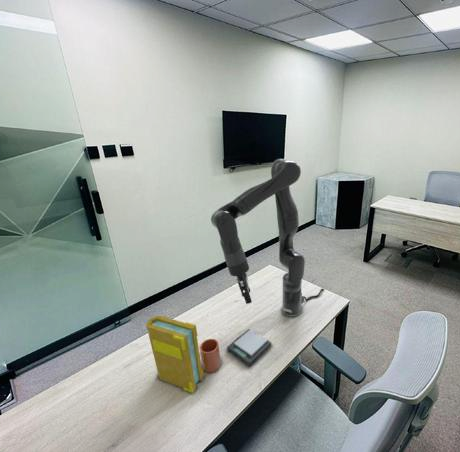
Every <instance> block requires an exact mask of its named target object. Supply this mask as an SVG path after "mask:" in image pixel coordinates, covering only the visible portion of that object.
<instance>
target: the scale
mask: <svg viewBox="0 0 460 452" xmlns="http://www.w3.org/2000/svg"><path fill="white" fill-rule="evenodd" d="M271 347H272V342H271V341H270V340H268V338H266V337H264V336H263V335H261V334H260V333H258V332H256V331H255V330H253V329H251V328H248V329H247V330H246V331H245V332H243V333H242V334H241V335H239V336H238V337H237V338H236V339H235V340H234V341H232V342H231V343H230V344H229V345H228V346H227V347H226V348H227V351H228V353H231V354H232V355H233V356H235V357H236V358H237V359H238V360H240V361H241V362H243V363H244V364H245V365H247V367H252V365H254V364H255V363H256V362H257V361H258V359H259V358H261V356H263V355H264V354H265V353H266V352H267V351H268V350H269V349H270V348H271Z"/></svg>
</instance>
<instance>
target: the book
mask: <svg viewBox="0 0 460 452" xmlns="http://www.w3.org/2000/svg"><path fill="white" fill-rule="evenodd" d="M145 326H146V330H147V334H148V338H149V342H150V346H151V347H150V348H151V350H152V355H153V358H154V362H155V366H156V370H157V375H158V378H159V380H161V381H163V382H166V383H169V384H171V385H174V386H177V387H180V388H182V390H183V391H186V392H189V393H191V394H193V393H194V392H195V390H196V389H197V386H196V385H197V383H198V382H202V381H203V379H204V378H205V375H204V369H203V366H202V359H201V353H200V347H199V342H198V337H199V336H198V329H197V324H195V323H191V322H188V321H186V322H184V321H180V320H177V319H173V318H170V317H166V316H164V315H163V316H162V315H154V316H152V317H150V318H149V319H148V320H147V321H146V323H145Z"/></svg>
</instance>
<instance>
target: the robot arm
mask: <svg viewBox="0 0 460 452" xmlns="http://www.w3.org/2000/svg"><path fill="white" fill-rule="evenodd" d="M301 173H302V170H301V166H300V165H299V163H298V162H295V161H293V160H289V159H285V158H277V159H275V160H274V162H273V163H272V165H271V168H270V176H271V178H269V179H267V180H266V181H264V182H261V183H259V184H257V185H254V186H252V187H249V188H248V189H247V190H245V191H243V192H242V193H241V194H239V195H238V196H237V197H235V198H234V199H233V200H231V201H230V202H228V203H226V204H225V205H223V206H221V207H219V208H218V209H217V210H215V211H214V212H213V213H212V215H211V218H210V222H211V224H212V226H213V227H214V228H216V229H217V231H218V234H219V238H220V240H219V243H220V247H221V249H222V252H223V256H224V260H225V263H226V266H227V269H228V272H229V275H230V276H232V277H236V282H237V285H238V288H239V290H240V293H241V296H242V297H243V299H244V302H245V304H246V305H249V304H252V301H253V300H252V297H251V295H250V293H251V288H250V285H249V278H248V275H247V272H249V269H250V266H249V263H248V259H247V255H246V253H245V251H244V249H243V247H242V244H241V240H240V238H239V234H238V233H239V232H238V226H237V222H236V220H237V219H238V218H239V217H243V216H246V215H248V214H249V213H251V211H252V210H254V209H255V208H256V207H257V206H259V205H260V204H262V203H263V202H265V201H266V200H268V199H270V198H271V197H273V196H274V199H275V207H276V209H275V210H276V219H277V228H278V229H277V230H278V243H279V245H278V246H279V247H278V248H279V250H278V251H279V252H278V259H279V264H280V265H281V266H282V267H283V268H285V269H286V270H287V272H286V273H285V274H283V275H282V299H281V300H282V303H281V304H282V308H281V311H282V313H283V315H285V316H287V317H291V318H293V317H297V316H299V315H300V314H301V311H302V305H303V303H304V302H305V301H309V300H310V299H313V298H318V297H319V296H320V295H321V294H322V291H325V289H324V288H321V289H320V290H319V293H318V294H316V295H311V296H309V297H308V298H307V297H306V296H304V295H303V292H302V285H303V284H302V282H303V281H302V280H303V279H304V276H305V263H306V261H305V256H304V255H302V254H301V253H299V252H298V251H296V250H295V248H294V237H295V235H296V233H297V231H298V229H299V226H300V223H299V222H300V221H299V211H298V208H297V205H296V202H295V201H294V198H293V196H292V193H291V188H290V186H292V185H294V184H296V182H297V181H298V180H299V179H300V178H301Z"/></svg>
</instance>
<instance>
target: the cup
mask: <svg viewBox="0 0 460 452" xmlns="http://www.w3.org/2000/svg"><path fill="white" fill-rule="evenodd" d="M220 352H221V351H220V343H219V341H218V340H217V339H215V338H207V339H205V340H204V341H202V342H201V344H200V345H199V354H200V360H201V367H202V368H203V372H206V373H213V372H216V371H217V370H218V369H219V368H220V367H221V360H222V359H221V353H220Z"/></svg>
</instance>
